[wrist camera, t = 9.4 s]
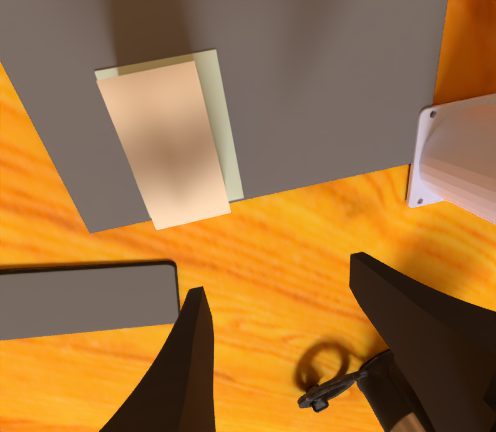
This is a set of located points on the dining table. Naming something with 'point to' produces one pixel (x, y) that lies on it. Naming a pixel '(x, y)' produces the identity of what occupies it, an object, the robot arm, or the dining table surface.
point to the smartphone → (87, 298)
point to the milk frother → (377, 395)
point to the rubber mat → (228, 86)
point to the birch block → (168, 142)
